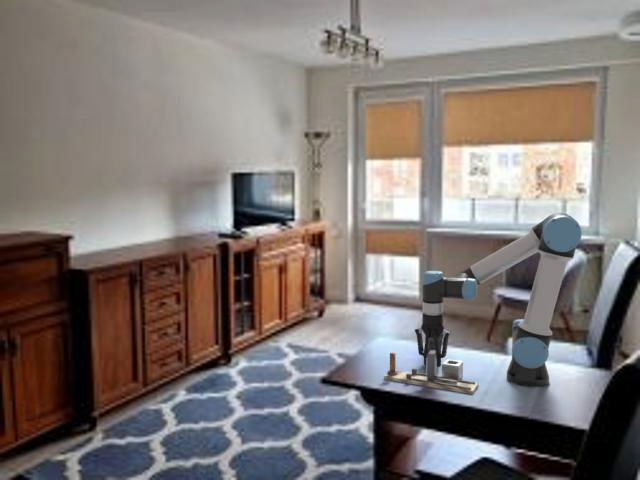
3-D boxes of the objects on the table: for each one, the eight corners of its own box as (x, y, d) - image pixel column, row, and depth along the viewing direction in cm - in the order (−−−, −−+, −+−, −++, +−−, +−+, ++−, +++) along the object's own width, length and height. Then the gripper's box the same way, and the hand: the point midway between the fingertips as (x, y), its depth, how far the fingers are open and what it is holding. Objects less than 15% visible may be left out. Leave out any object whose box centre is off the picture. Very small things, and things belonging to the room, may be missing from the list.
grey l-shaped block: (458, 381, 214) (459, 353, 212) (455, 385, 210) (455, 357, 208) (430, 376, 219) (431, 349, 217) (427, 380, 215) (427, 353, 213)
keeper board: (478, 386, 212) (478, 362, 211) (472, 394, 205) (473, 369, 204) (391, 372, 228) (391, 349, 227) (383, 379, 221) (383, 355, 220)
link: (462, 376, 223) (463, 361, 222) (458, 381, 217) (458, 366, 217) (446, 373, 226) (446, 358, 225) (441, 378, 220) (442, 363, 220)
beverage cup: (443, 364, 237) (444, 316, 235) (425, 363, 239) (425, 316, 236) (443, 358, 244) (443, 312, 242) (425, 357, 246) (426, 311, 243)
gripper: (456, 312, 213) (455, 374, 216) (415, 308, 220) (415, 368, 223) (450, 317, 206) (449, 380, 209) (409, 313, 213) (409, 374, 216)
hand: (432, 374), depth 216 cm, fingers closed on grey l-shaped block, 2 cm apart
